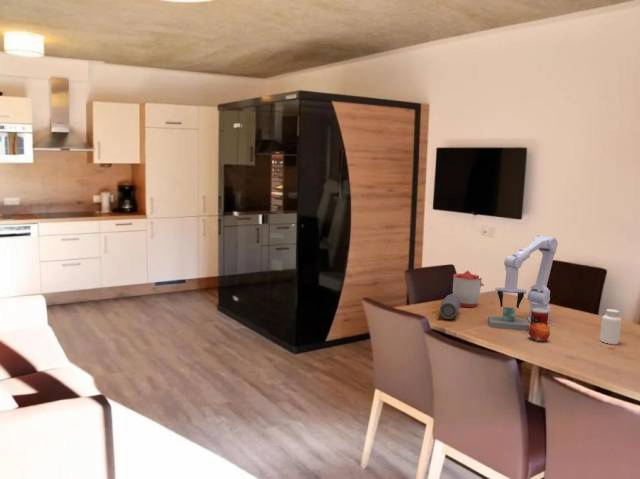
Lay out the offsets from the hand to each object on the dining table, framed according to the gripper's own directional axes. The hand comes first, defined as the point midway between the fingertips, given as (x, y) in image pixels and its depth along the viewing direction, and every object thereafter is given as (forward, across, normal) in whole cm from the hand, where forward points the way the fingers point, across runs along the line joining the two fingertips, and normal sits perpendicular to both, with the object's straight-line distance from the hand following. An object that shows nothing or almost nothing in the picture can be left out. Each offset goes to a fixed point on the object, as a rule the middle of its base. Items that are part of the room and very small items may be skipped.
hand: (509, 307), depth 279 cm
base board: (+9, 0, 0) cm, 9 cm away
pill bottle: (+10, +43, -14) cm, 46 cm away
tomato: (+10, +11, -21) cm, 26 cm away
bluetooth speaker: (+10, -28, +9) cm, 31 cm away
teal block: (+7, 0, 0) cm, 7 cm away
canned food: (+10, +13, -8) cm, 18 cm away
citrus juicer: (+10, -18, +37) cm, 42 cm away
